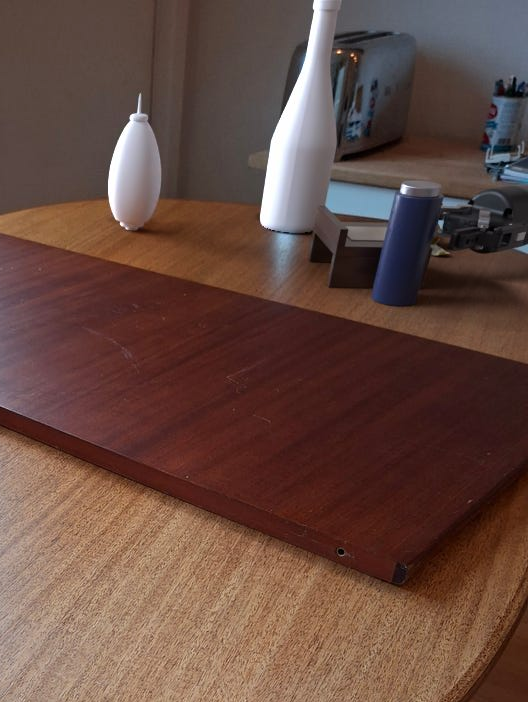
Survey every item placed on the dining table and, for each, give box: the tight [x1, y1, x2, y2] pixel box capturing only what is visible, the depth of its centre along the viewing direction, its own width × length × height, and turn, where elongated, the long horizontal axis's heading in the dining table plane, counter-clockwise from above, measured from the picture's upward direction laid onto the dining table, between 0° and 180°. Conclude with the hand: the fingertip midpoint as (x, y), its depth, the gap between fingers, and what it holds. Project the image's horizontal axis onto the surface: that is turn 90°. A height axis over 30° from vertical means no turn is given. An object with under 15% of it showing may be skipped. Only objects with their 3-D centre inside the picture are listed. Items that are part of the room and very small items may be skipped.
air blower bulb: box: [107, 92, 162, 231], centre depth 130 cm, size 8×8×18 cm
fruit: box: [431, 223, 451, 256], centre depth 127 cm, size 8×8×4 cm
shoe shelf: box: [307, 205, 433, 290], centre depth 116 cm, size 12×13×7 cm
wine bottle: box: [259, 0, 343, 234], centre depth 128 cm, size 10×10×30 cm
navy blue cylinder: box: [370, 180, 445, 307], centre depth 105 cm, size 5×5×13 cm
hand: (423, 232), depth 106 cm, fingers open, 8 cm apart
